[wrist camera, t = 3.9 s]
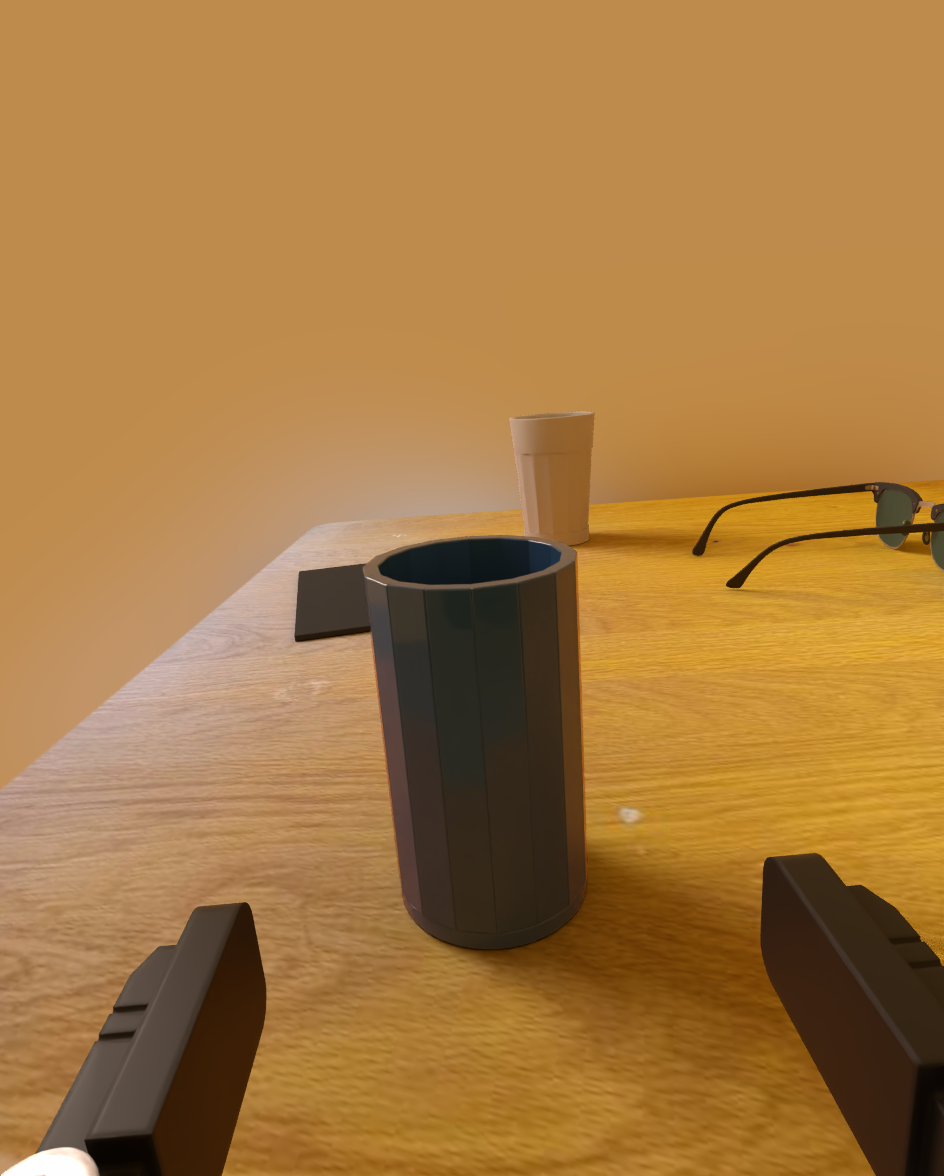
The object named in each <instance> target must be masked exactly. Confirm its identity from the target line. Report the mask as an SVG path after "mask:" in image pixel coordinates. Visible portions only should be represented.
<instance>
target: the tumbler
mask: <svg viewBox="0 0 944 1176" xmlns="http://www.w3.org/2000/svg"><path fill="white" fill-rule="evenodd" d="M363 577H364V585H365V594H366V602H367V610H368V619H369V627H370V635H371V644H372V652H373V661H374V669H375V677H376V686H377V694H378V702H379V711H380V719H381V728H382V736H383V744H384V753H385V761H386V770H387V778H388V786H389V795H390V803H391V811H392V820H393V828H394V837H395V845H396V853H397V862H398V870H399V876H400V882H401V890H402V898H403V901H404V905H405V907H406V909H407V911H408V913H409V914H410V916H411V917H412V918H413V920H414V921H415V922H416V923H417V924H418V925H419V926H420V927H421V928H422V929H423V930H425V931H426V932H428V933H429V934H431V935H432V936H434V937H436V938H438V939H440V940H442V941H445V942H448V943H450V944H453V945H457V946H462V947H466V948H474V949H491V950H492V949H506V948H511V947H517V946H521V945H525V944H529V943H532V942H534V941H537V940H539V939H542V938H544V937H546V936H548V935H550V934H552V933H553V932H555V931H556V930H558V929H559V928H561V927H562V926H564V925H565V924H566V923H567V922H568V921H569V920H570V919H571V918H572V917H573V916H574V914H575V913H576V912H577V911H578V909H579V907H580V905H581V904H582V902H583V900H584V897H585V894H586V889H587V838H586V807H585V777H584V746H583V716H582V685H581V655H580V625H579V594H578V564H577V551H576V550H574V549H572V548H571V547H569V546H568V545H566V544H564V543H562V542H558V541H553V540H548V539H543V538H539V537H528V536H512V535H490V536H469V537H468V536H466V537H457V538H449V539H440V540H434V541H428V542H423V543H418V544H414V545H409V546H404V547H401V548H397V549H395V550H392V551H389V552H387V553H384V554H381V555H378V556H376V557H374V558H373V559H372V560H371V561H370V562H368V563H367V564H366V565H365V566H363Z"/></svg>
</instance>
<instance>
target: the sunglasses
mask: <svg viewBox="0 0 944 1176" xmlns="http://www.w3.org/2000/svg"><path fill="white" fill-rule="evenodd" d="M865 491H872V492H873V494H874V501H875V502H876V503H877V510H876V528H864V529H853V530H843V531H833V532H824V533H816V534H810V535H803V536H798V537H793V538H789V539H786V540H783V541H780V542H778V543H775V544H774V545H772V546H770V547H768V548H767V549H766V550H764V551H763V552H762V553H760V554H759V555H758V556H757V557H756V558H754V559H753V560H752V561H751V562H750V563H749V564H748V565H747V566H745V567H744V568H743V569H742V570H741V571H740V572H739V573H737V574H736V575H735V576H734V577H733V578H731V579H730V580H729V581H728V582H727V583H726V586H727V587H730V588H740V587H741V586H742V585H743V583H744V582H745V580H746V578H747V577H748V575H749V574H750V573H751V571H752V570H753V569H754V568H755V566H756V565H757V564H758V563H759V562H760V561H761V560H762V559H763V558H764V557H765V556H766V555H768V554H769V553H770V552H772V551H773V550H775V549H777V548H779V547H781V546H783V545H786V544H789V543H793V542H798V541H804V540H811V539H821V538H834V537H848V536H860V535H877V534H878V536H879V538H880V540H881V541H882V542H883V543H884V544H885V545H886V546H888V547H891V548H893V549H897V548H899V547H901V546H902V545H903V543H904V542H905V540H906V538H907V537H908V535H909V533H915V532H923V535H922V540H923V543H924V544H925V545H928V544H929V542H930V549H931V554H932V558H933V560H934V562H935V564H936V565H937V566H938V568H939V569H941V570H942V571H944V504H938V505H935V503H934V502H930V501H923V500H922V498H921V497H920V496H919V494H918V493H917V492H915V491H914V490H912V489H910V488H908V487H906V486H902V485H899V484H893V483H883V482H881V483H880V482H878V483H866V484H858V485H849V486H840V487H831V488H822V489H814V490H806V491H798V492H791V493H783V494H776V495H769V496H762V497H757V498H751V499H746V500H742V501H738V502H735V503H732V504H729V505H727V506H725V507H723V508H721V509H720V510H719V511H718V512H717V513H716V514H715V515H714V516H713V518H712V519H711V521H710V522H709V524H708V526H707V527H706V529H705V531H704V532H703V534H702V536H701V537H700V539H699V541H698V542H697V544H696V546H695V547H694V548H693V551H692V553H693V555H697V556H699V555H702V554H703V553H704V551H705V547H706V543H707V540H708V537H709V535H710V532H711V530H712V528H713V526H714V524H715V522H716V521H717V519H718V518H719V517H720V516H721V515H722V514H723V513H724V512H725V511H726V510H728V509H730V508H733V507H736V506H739V505H743V504H748V503H755V502H762V501H770V500H778V499H786V498H797V497H807V496H818V495H830V494H841V493H853V492H865ZM921 506H923V507H931V508H932V511H931V519H932V520H934V523H927V524H913V520H914V516H915V514H916V513H918V512H919V511H920V508H921ZM912 524H913V525H912ZM930 532H931V540H930Z"/></svg>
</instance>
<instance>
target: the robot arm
mask: <svg viewBox="0 0 944 1176" xmlns="http://www.w3.org/2000/svg"><path fill="white" fill-rule="evenodd" d="M761 950H762V956H763V960H764V964H765V967H766V971H767V974H768V976H769V979H770V981H771V983H772V985H773V987H774V989H775V991H776V993H777V995H778V996H779V998H780V1000H781V1002H782V1004H783V1006H784V1007H785V1009H786V1011H787V1013H788V1015H789V1017H790V1018H791V1020H792V1022H793V1024H794V1026H795V1028H796V1029H797V1031H798V1033H799V1035H800V1037H801V1039H802V1041H803V1042H804V1044H805V1046H806V1048H807V1050H808V1052H809V1053H810V1055H811V1057H812V1059H813V1061H814V1063H815V1064H816V1066H817V1068H818V1070H819V1072H820V1074H821V1075H822V1077H823V1079H824V1081H825V1083H826V1085H827V1087H828V1088H829V1090H830V1092H831V1094H832V1096H833V1098H834V1099H835V1101H836V1103H837V1105H838V1107H839V1109H840V1110H841V1112H842V1114H843V1116H844V1118H845V1120H846V1121H847V1123H848V1125H849V1127H850V1129H851V1131H852V1132H853V1134H854V1136H855V1138H856V1140H857V1142H858V1144H859V1145H860V1147H861V1149H862V1151H863V1153H864V1155H865V1156H866V1158H867V1160H868V1162H869V1164H870V1166H871V1167H872V1169H873V1171H874V1173H875V1175H876V1176H944V966H942V965H941V963H940V959H939V958H938V957H937V956H936V954H935V953H934V952H933V951H932V950H931V949H930V947H929V946H928V945H927V944H926V943H925V942H921V940H920V936H919V935H918V933H917V932H916V931H915V930H914V929H913V928H912V926H911V925H910V924H909V923H908V922H907V921H906V919H905V918H904V917H903V916H902V915H901V914H900V912H899V911H898V910H897V909H896V908H895V907H894V906H892V905H891V904H889V903H888V902H886V901H885V900H883V899H882V898H880V897H879V896H877V895H876V894H874V893H873V892H871V891H870V890H868V889H867V888H865V887H864V886H862V885H855V886H846V885H845V884H844V883H843V882H842V880H841V879H840V878H839V877H838V875H837V874H836V873H835V872H834V870H833V869H832V868H831V867H830V865H829V864H828V863H827V862H826V860H825V859H824V858H823V857H822V856H821V855H819V854H817V853H810V854H799V855H788V856H777V857H768V858H767V859H766V860H765V863H764V868H763V888H762V912H761ZM265 1013H266V983H265V977H264V972H263V967H262V961H261V956H260V951H259V946H258V941H257V935H256V930H255V925H254V920H253V915H252V911H251V908H250V906H249V904H248V903H246V902H244V903H233V904H222V905H211V906H200V907H197V908H196V909H195V910H194V911H193V912H192V914H191V916H190V918H189V920H188V922H187V924H186V927H185V929H184V931H183V933H182V935H181V937H180V939H179V941H178V943H177V945H170V946H159V947H158V948H157V949H156V950H155V951H154V952H153V953H152V954H151V955H150V956H149V957H148V958H147V959H146V960H145V961H144V962H143V963H142V964H141V965H140V966H139V967H138V968H137V969H136V970H135V971H134V972H133V973H132V974H131V975H130V977H129V979H128V981H127V983H126V984H125V986H124V988H123V990H122V992H121V994H120V996H119V998H118V999H117V1001H116V1003H115V1005H114V1007H113V1014H110V1015H109V1016H108V1018H107V1020H106V1022H105V1024H104V1026H103V1028H102V1030H101V1032H100V1033H99V1040H98V1041H97V1042H95V1043H94V1045H93V1047H92V1049H91V1050H90V1052H89V1054H88V1056H87V1058H86V1060H85V1062H84V1064H83V1065H82V1067H81V1069H80V1071H79V1073H78V1075H77V1077H76V1079H75V1081H74V1082H73V1084H72V1086H71V1088H70V1090H69V1092H68V1094H67V1096H66V1098H65V1099H64V1101H63V1103H62V1105H61V1107H60V1109H59V1111H58V1113H57V1115H56V1116H55V1118H54V1120H53V1122H52V1124H51V1126H50V1128H49V1130H48V1131H47V1133H46V1135H45V1137H44V1139H43V1141H42V1143H41V1145H40V1147H39V1148H38V1150H37V1152H36V1153H35V1155H32V1156H30V1157H28V1158H26V1159H24V1160H22V1161H21V1162H19V1163H17V1164H15V1165H14V1166H12V1167H11V1168H9V1169H8V1170H7V1171H5V1172H4V1173H3V1174H1V1175H0V1176H222V1172H223V1169H224V1165H225V1162H226V1158H227V1155H228V1151H229V1147H230V1144H231V1140H232V1137H233V1133H234V1130H235V1126H236V1123H237V1119H238V1115H239V1112H240V1108H241V1105H242V1101H243V1098H244V1094H245V1091H246V1087H247V1083H248V1080H249V1076H250V1073H251V1069H252V1066H253V1062H254V1059H255V1055H256V1051H257V1048H258V1044H259V1041H260V1037H261V1034H262V1030H263V1026H264V1020H265Z"/></svg>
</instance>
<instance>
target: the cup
mask: <svg viewBox="0 0 944 1176" xmlns="http://www.w3.org/2000/svg"><path fill="white" fill-rule="evenodd" d="M510 426H511V433H512V439H513V447H514V453H515V460H516V468H517V476H518V484H519V491H520V499H521V506H522V515H523V523H524V534H525V536H528V537H539V538H543V539H548V540H553V541H558V542H562V543H564V544H566V545H568V546H570V545H576V544H580V543H583V542H586V541H587V540H589V525H588V515H589V492H590V472H591V450H592V444H593V430H594V429H593V428H594V412H563V413H547V414H535V415H525V416H518V417H512V418H510Z"/></svg>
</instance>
